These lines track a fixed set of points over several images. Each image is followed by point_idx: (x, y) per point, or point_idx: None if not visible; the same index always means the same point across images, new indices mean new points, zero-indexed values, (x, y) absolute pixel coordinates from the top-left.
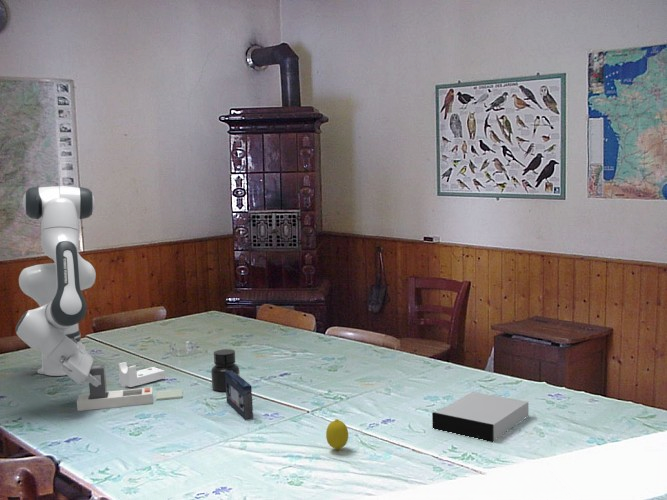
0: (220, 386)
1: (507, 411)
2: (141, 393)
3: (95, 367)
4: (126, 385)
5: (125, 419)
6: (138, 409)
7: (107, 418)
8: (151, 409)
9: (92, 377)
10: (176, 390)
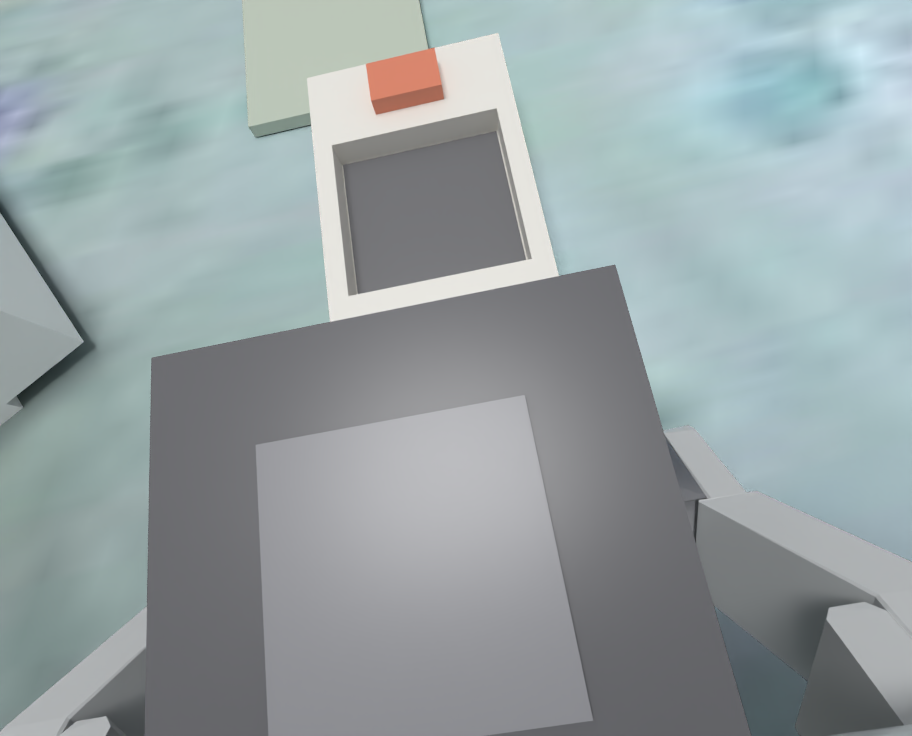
0: None
1: None
2: (386, 159)
3: (516, 578)
4: (26, 385)
5: (881, 194)
6: (630, 163)
7: (866, 345)
8: (636, 78)
9: (894, 559)
10: (274, 8)
